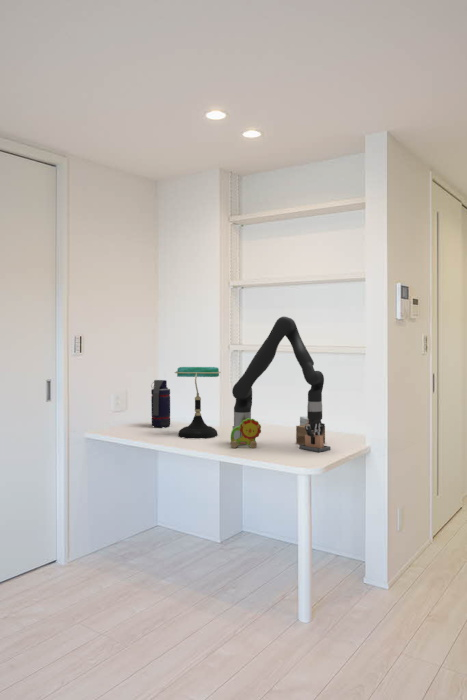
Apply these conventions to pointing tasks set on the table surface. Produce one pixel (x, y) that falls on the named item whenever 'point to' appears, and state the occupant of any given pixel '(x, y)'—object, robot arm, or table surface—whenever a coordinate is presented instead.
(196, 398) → the banker's lamp
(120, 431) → the table surface
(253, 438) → the toy lion
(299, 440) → the cardboard shipping carton
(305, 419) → the ink box
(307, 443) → the tan rectangular block
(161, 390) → the grenade
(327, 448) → the tray
